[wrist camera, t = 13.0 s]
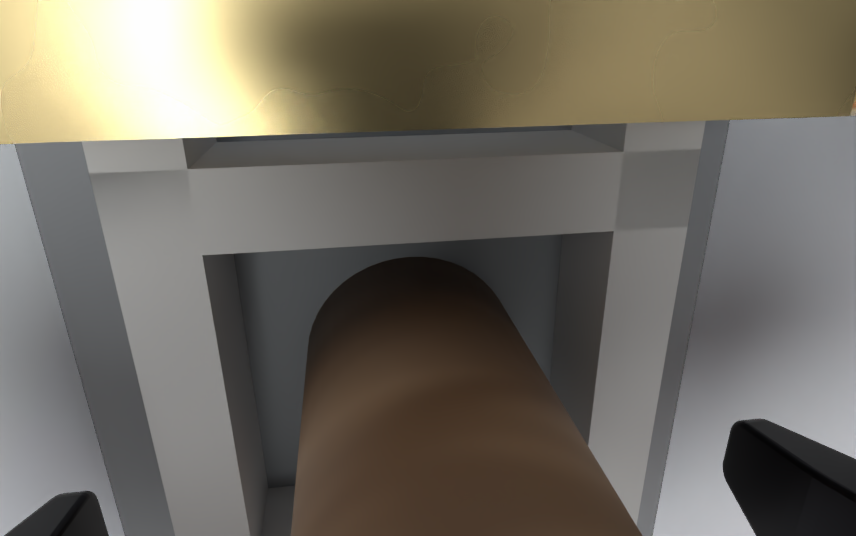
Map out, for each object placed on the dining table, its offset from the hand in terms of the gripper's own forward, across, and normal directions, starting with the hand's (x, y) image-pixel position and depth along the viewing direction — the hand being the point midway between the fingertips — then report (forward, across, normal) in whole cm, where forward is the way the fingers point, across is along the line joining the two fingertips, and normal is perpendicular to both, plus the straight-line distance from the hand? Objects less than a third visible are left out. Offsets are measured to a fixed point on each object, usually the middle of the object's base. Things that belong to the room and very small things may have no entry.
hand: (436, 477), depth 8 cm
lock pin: (+1, -1, -6) cm, 6 cm away
